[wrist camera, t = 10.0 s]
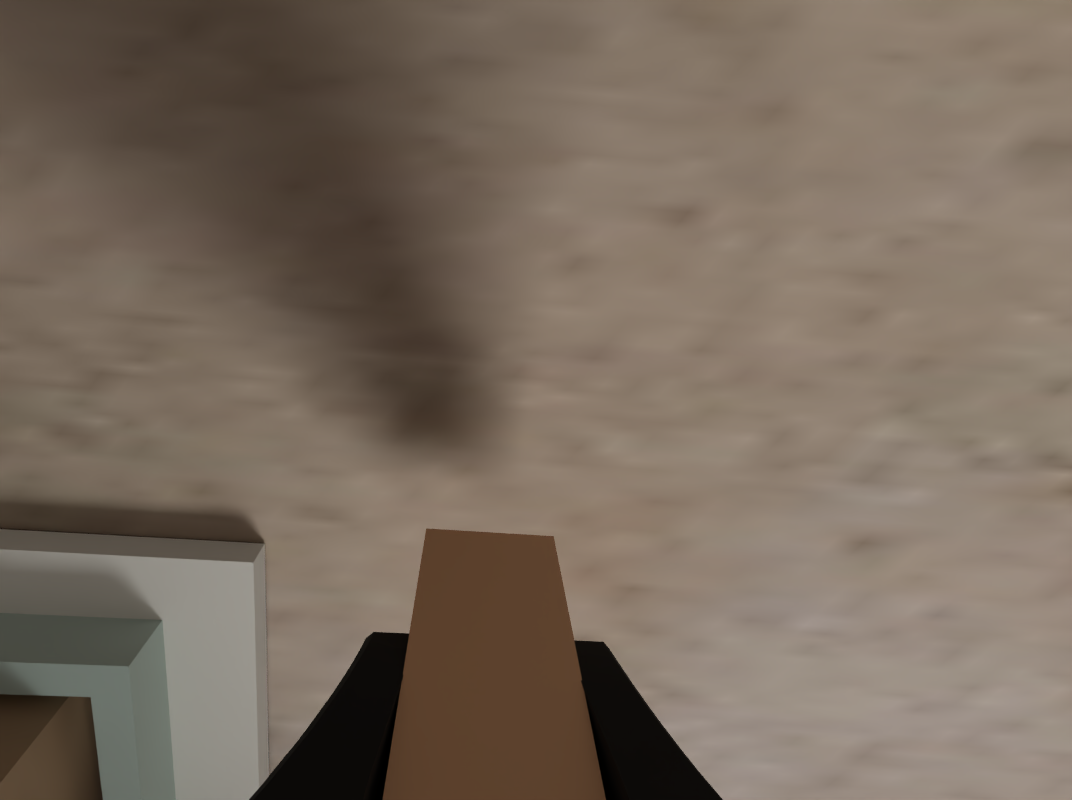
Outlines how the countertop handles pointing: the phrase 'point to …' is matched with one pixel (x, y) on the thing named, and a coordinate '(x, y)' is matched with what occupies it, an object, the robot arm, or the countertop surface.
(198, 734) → the cradle
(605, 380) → the countertop surface
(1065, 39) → the countertop surface
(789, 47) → the countertop surface
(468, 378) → the countertop surface
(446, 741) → the tan square block
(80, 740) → the tan box sleeve
